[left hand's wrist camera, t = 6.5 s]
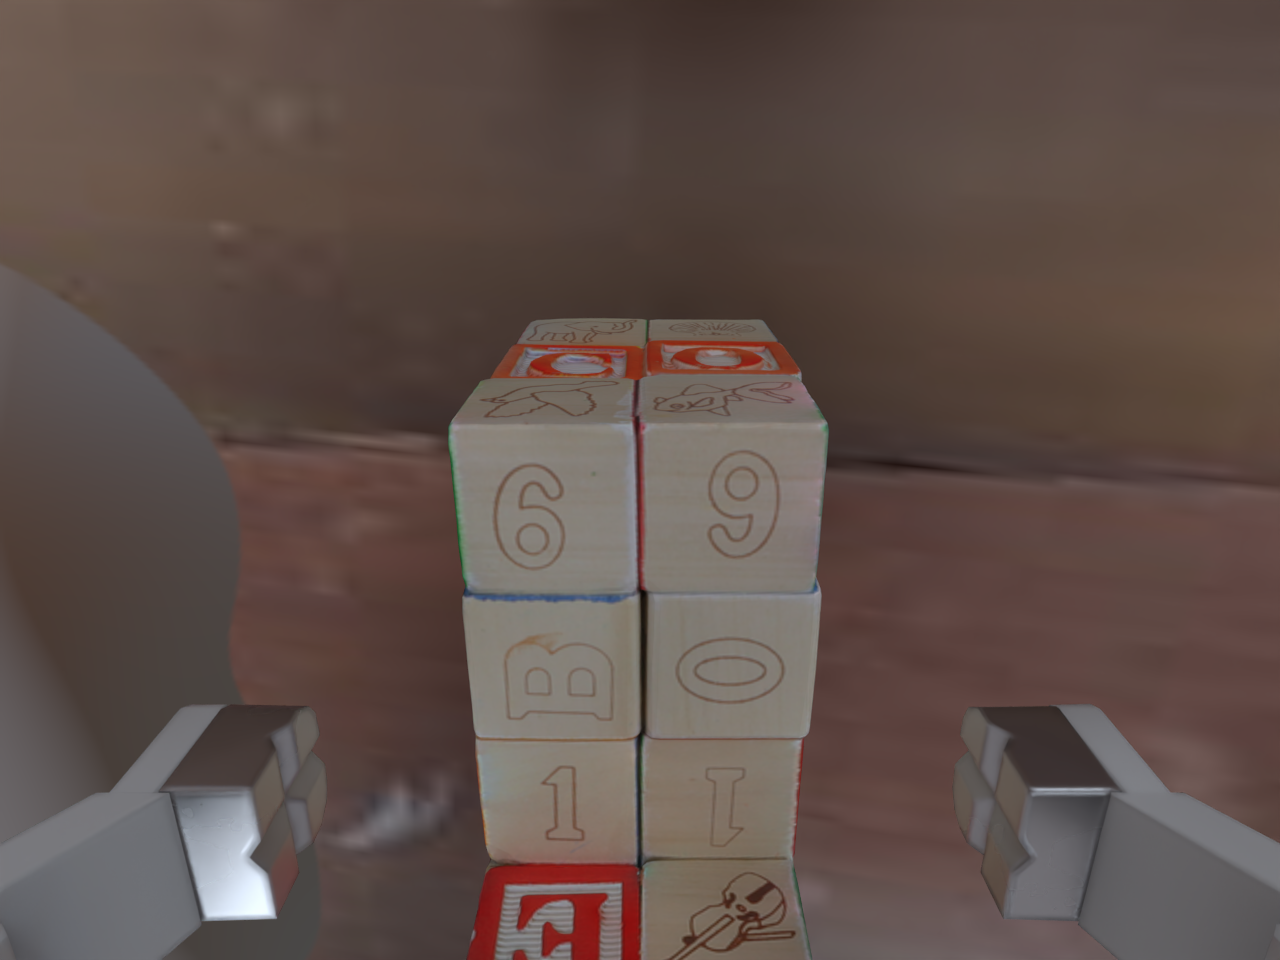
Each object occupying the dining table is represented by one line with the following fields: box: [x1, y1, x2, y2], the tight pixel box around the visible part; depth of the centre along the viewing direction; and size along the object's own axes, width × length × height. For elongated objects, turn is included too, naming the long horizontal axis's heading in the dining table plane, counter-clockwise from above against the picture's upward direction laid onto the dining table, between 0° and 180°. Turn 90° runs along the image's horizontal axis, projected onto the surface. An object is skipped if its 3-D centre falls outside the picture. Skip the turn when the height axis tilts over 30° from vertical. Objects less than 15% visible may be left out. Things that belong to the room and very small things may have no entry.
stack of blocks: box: [448, 318, 829, 960], centre depth 20 cm, size 21×6×12 cm, turn 0°
